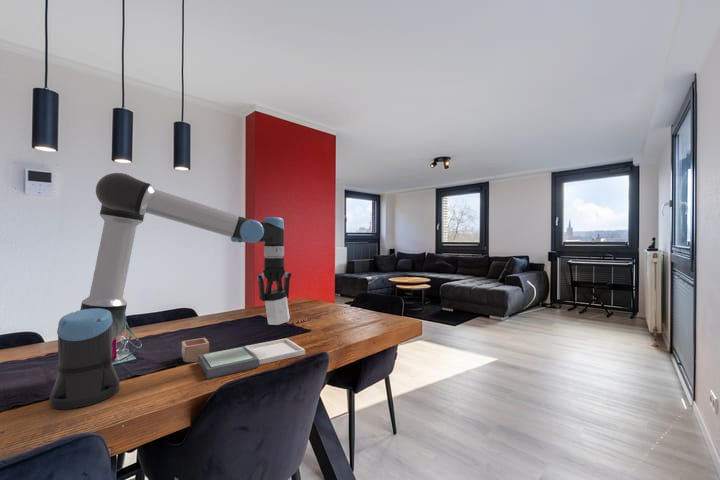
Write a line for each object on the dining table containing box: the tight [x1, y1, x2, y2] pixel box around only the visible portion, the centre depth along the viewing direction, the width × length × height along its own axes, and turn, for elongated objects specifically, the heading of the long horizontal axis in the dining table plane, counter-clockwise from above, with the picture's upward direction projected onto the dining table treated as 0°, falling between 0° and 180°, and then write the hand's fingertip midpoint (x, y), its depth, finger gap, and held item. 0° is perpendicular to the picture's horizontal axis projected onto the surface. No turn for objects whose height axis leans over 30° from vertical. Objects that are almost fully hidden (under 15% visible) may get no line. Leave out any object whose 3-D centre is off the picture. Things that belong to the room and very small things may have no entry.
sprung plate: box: [203, 346, 253, 368], centre depth 115 cm, size 13×13×1 cm
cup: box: [181, 337, 210, 363], centre depth 122 cm, size 8×8×6 cm
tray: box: [244, 337, 306, 366], centre depth 128 cm, size 18×18×2 cm
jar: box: [264, 288, 291, 326], centre depth 128 cm, size 9×8×12 cm
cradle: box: [198, 345, 259, 380], centre depth 115 cm, size 16×16×3 cm
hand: (274, 317), depth 128 cm, fingers closed on jar, 3 cm apart
